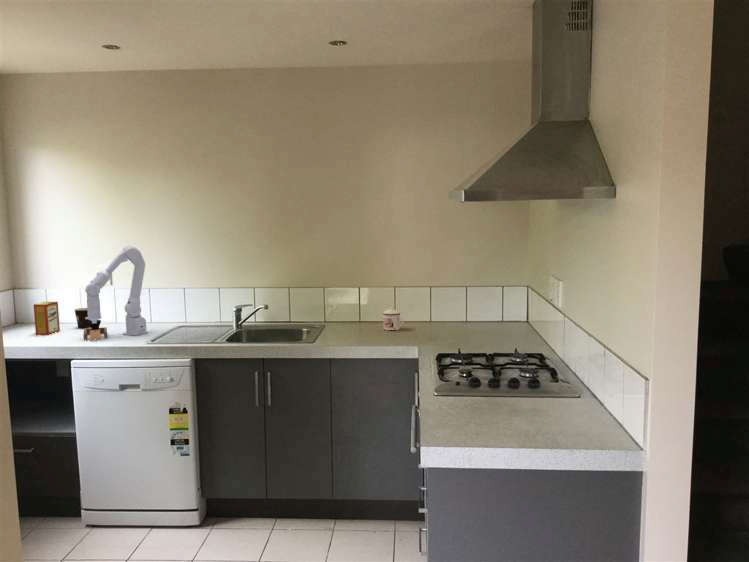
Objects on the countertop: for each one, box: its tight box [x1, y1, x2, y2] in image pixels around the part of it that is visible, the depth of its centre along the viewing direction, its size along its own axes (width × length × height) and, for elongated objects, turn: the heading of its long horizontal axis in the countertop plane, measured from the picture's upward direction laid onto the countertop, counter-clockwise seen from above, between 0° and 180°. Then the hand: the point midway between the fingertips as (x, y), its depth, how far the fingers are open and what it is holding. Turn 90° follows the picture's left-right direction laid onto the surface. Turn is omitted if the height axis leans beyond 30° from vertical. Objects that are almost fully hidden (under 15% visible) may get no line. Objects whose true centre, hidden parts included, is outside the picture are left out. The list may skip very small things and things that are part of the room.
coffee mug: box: [74, 307, 91, 330], centre depth 321 cm, size 12×9×10 cm
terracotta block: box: [89, 329, 101, 341], centre depth 293 cm, size 4×4×4 cm
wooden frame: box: [82, 327, 108, 341], centre depth 300 cm, size 14×10×3 cm
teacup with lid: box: [382, 306, 405, 331], centre depth 310 cm, size 12×9×12 cm
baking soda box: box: [33, 301, 61, 336], centre depth 308 cm, size 10×6×16 cm
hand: (95, 335), depth 296 cm, fingers closed
